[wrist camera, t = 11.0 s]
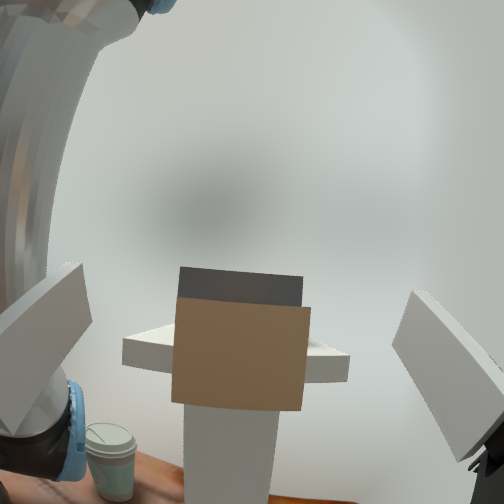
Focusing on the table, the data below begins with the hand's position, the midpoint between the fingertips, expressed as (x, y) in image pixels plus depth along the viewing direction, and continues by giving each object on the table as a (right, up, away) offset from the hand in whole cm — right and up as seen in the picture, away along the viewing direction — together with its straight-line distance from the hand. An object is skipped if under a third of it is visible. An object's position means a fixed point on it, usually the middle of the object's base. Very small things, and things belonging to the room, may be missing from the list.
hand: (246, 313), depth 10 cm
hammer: (-1, -3, +5) cm, 6 cm away
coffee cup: (-21, -35, +17) cm, 44 cm away
